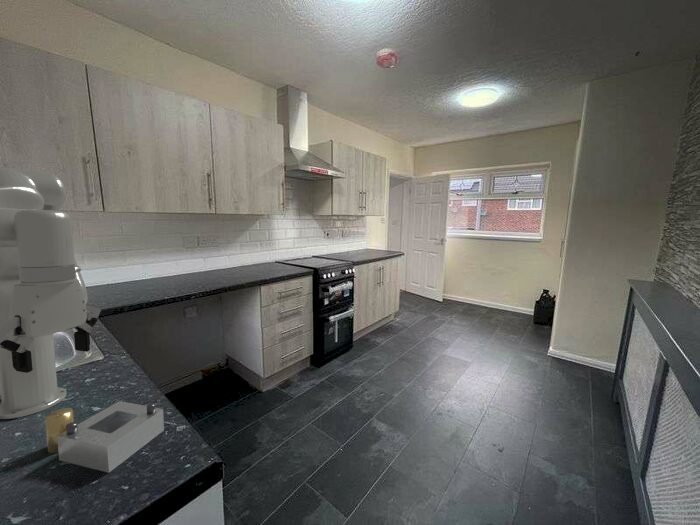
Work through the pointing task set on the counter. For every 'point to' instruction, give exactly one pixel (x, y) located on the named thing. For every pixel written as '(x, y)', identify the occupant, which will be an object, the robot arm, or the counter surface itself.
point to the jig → (110, 435)
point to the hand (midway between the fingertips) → (55, 360)
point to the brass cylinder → (57, 426)
